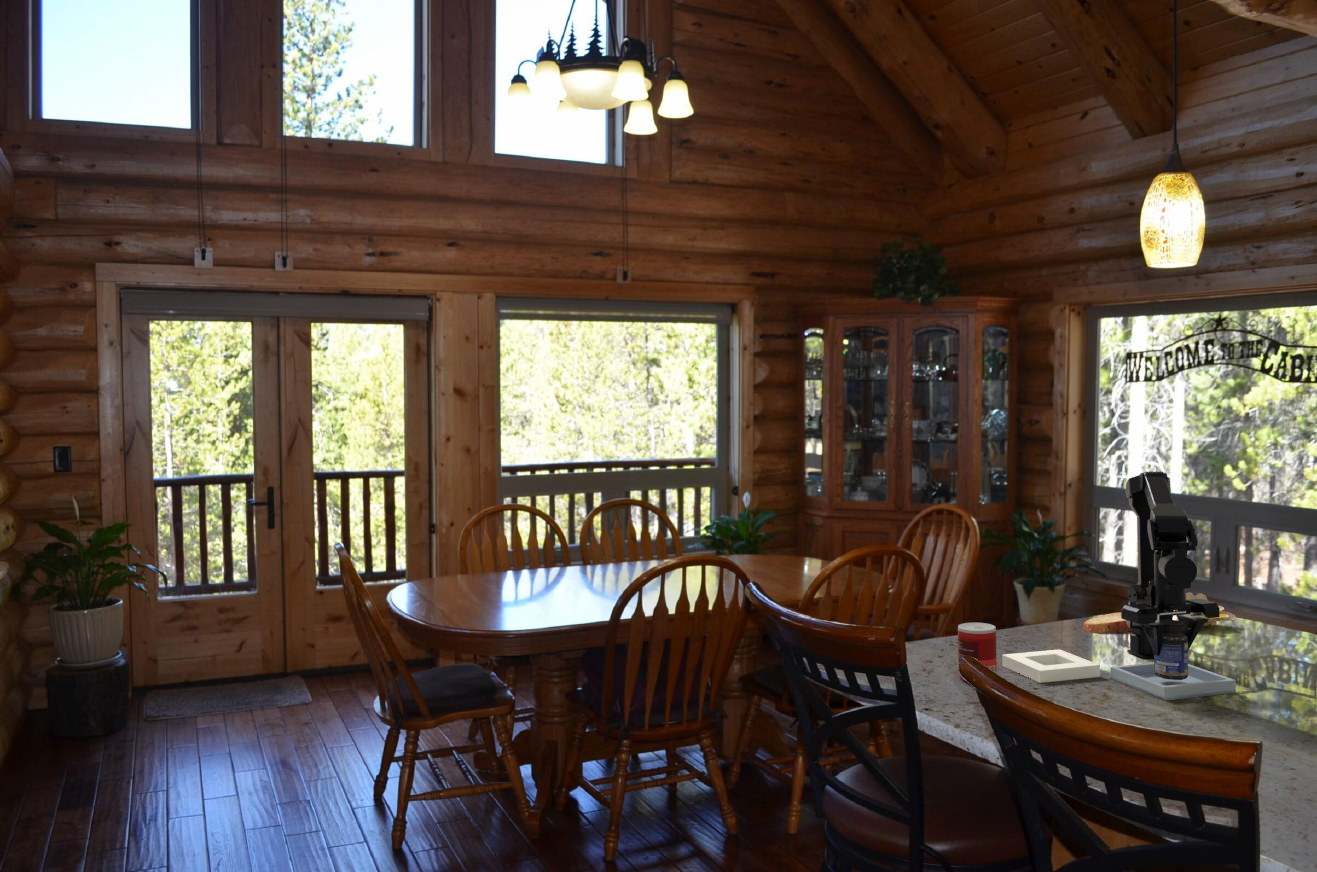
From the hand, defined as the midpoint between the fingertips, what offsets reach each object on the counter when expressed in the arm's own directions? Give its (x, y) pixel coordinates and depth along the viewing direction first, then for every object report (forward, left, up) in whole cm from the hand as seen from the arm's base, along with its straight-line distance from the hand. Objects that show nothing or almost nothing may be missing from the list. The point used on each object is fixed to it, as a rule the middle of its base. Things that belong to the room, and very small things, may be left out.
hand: (1170, 653), depth 208 cm
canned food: (+33, -17, -7) cm, 38 cm away
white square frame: (+16, -17, -6) cm, 24 cm away
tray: (0, 0, -6) cm, 6 cm away
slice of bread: (-24, -47, -7) cm, 53 cm away
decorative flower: (-41, -40, -7) cm, 58 cm away
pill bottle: (0, 0, -5) cm, 5 cm away
